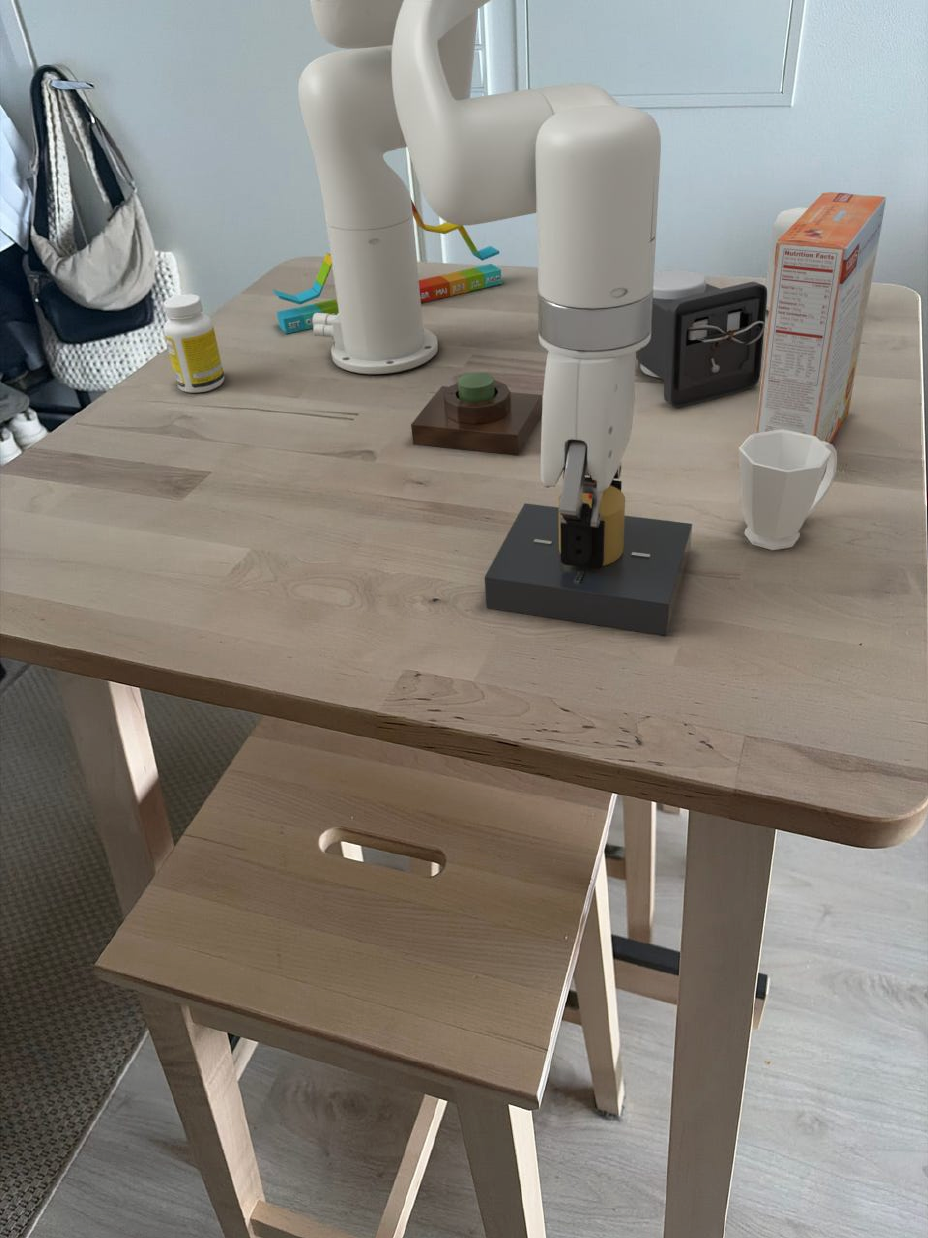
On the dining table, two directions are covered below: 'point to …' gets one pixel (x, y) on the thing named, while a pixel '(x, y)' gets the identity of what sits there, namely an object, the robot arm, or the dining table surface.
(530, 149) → the robot arm
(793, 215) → the photo printer
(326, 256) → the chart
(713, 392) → the light fixture
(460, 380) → the switch
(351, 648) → the dining table surface
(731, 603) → the dining table surface
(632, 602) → the dimmer panel
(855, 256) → the cracker box
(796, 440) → the cup
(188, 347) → the supplement bottle
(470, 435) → the lamp base
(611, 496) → the dimmer
